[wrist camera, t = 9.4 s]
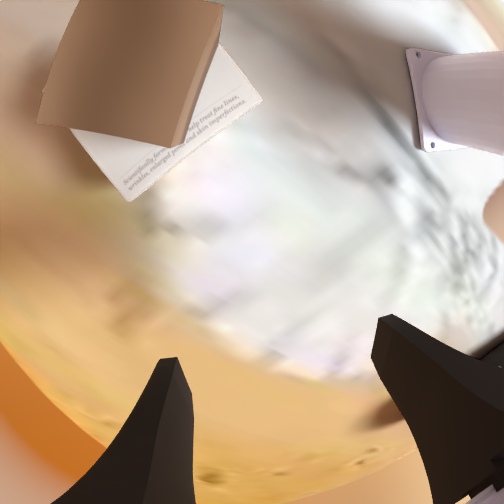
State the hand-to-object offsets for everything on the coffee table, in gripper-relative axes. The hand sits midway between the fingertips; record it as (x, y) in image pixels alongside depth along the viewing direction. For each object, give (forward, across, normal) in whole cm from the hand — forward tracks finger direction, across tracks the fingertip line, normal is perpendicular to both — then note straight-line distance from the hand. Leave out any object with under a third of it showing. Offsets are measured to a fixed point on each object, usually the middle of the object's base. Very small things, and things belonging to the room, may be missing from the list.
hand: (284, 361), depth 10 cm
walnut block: (+6, +4, -10) cm, 12 cm away
